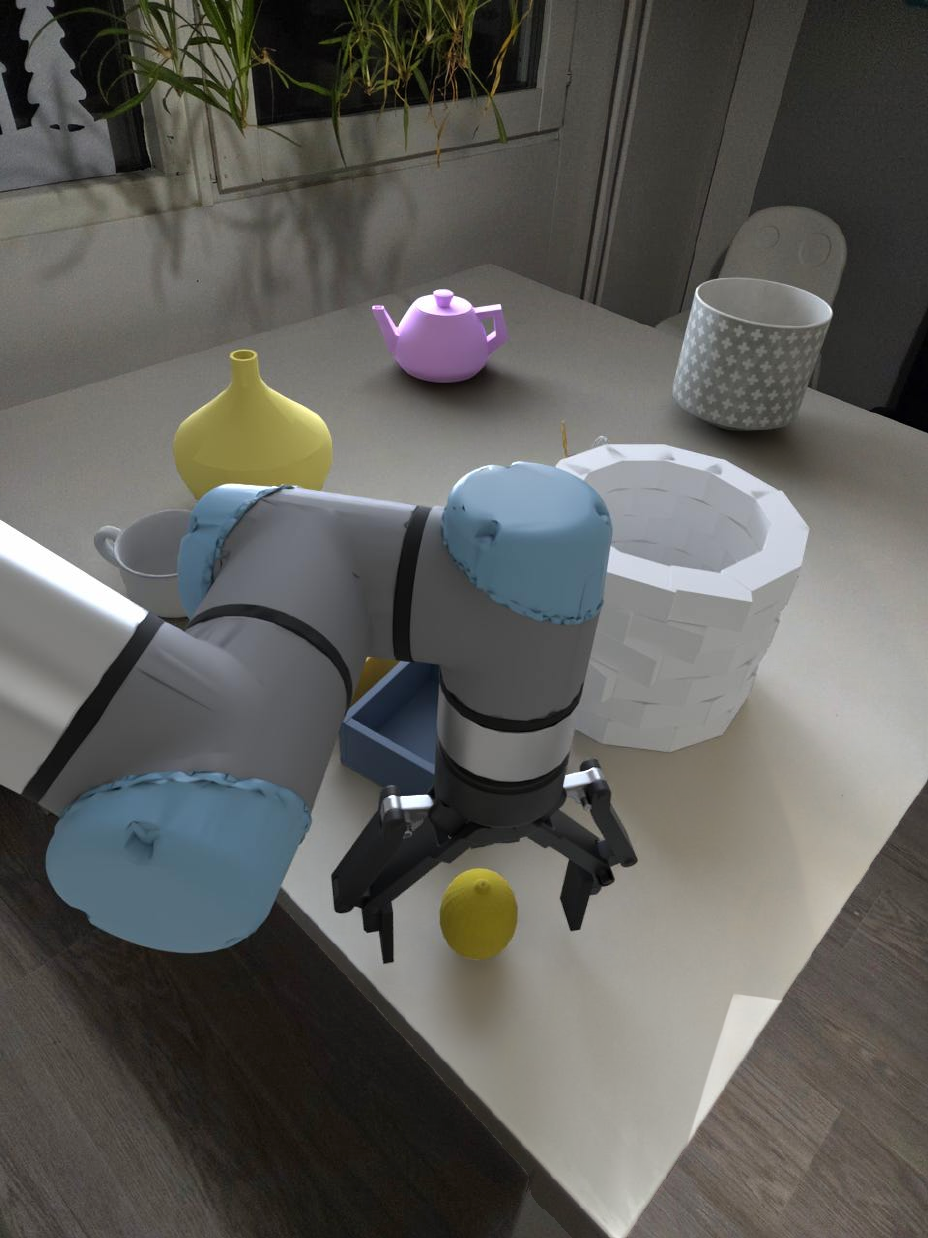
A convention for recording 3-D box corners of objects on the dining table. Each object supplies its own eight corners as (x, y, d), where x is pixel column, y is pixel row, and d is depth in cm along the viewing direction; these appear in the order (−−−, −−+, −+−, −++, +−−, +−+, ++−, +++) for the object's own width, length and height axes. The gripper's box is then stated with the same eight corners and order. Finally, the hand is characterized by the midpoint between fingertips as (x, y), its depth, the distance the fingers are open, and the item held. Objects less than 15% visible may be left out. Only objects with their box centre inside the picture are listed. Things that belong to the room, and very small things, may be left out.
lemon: (490, 994, 58) (500, 937, 53) (423, 955, 60) (426, 896, 54) (524, 930, 62) (537, 871, 56) (460, 895, 63) (466, 835, 58)
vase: (314, 456, 112) (304, 316, 99) (353, 530, 99) (348, 381, 87) (174, 477, 106) (145, 330, 93) (197, 558, 93) (168, 402, 81)
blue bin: (340, 762, 73) (337, 719, 69) (428, 674, 81) (430, 632, 78) (469, 839, 67) (473, 797, 64) (548, 737, 76) (556, 695, 73)
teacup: (254, 587, 90) (245, 526, 85) (189, 646, 82) (175, 584, 77) (152, 550, 94) (138, 490, 89) (81, 603, 86) (61, 541, 81)
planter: (659, 432, 123) (688, 311, 111) (675, 381, 137) (702, 269, 125) (789, 459, 119) (834, 336, 107) (792, 404, 133) (832, 290, 121)
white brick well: (520, 578, 94) (541, 429, 82) (730, 603, 93) (783, 455, 81) (504, 745, 75) (528, 583, 63) (768, 779, 74) (844, 621, 62)
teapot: (498, 347, 143) (505, 276, 135) (512, 387, 132) (520, 311, 124) (371, 345, 141) (370, 273, 133) (374, 386, 129) (373, 309, 121)
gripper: (686, 663, 50) (624, 858, 64) (271, 709, 46) (301, 909, 60) (741, 757, 45) (660, 948, 59) (276, 821, 40) (307, 1012, 54)
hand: (479, 929), depth 59 cm, fingers open, 13 cm apart
